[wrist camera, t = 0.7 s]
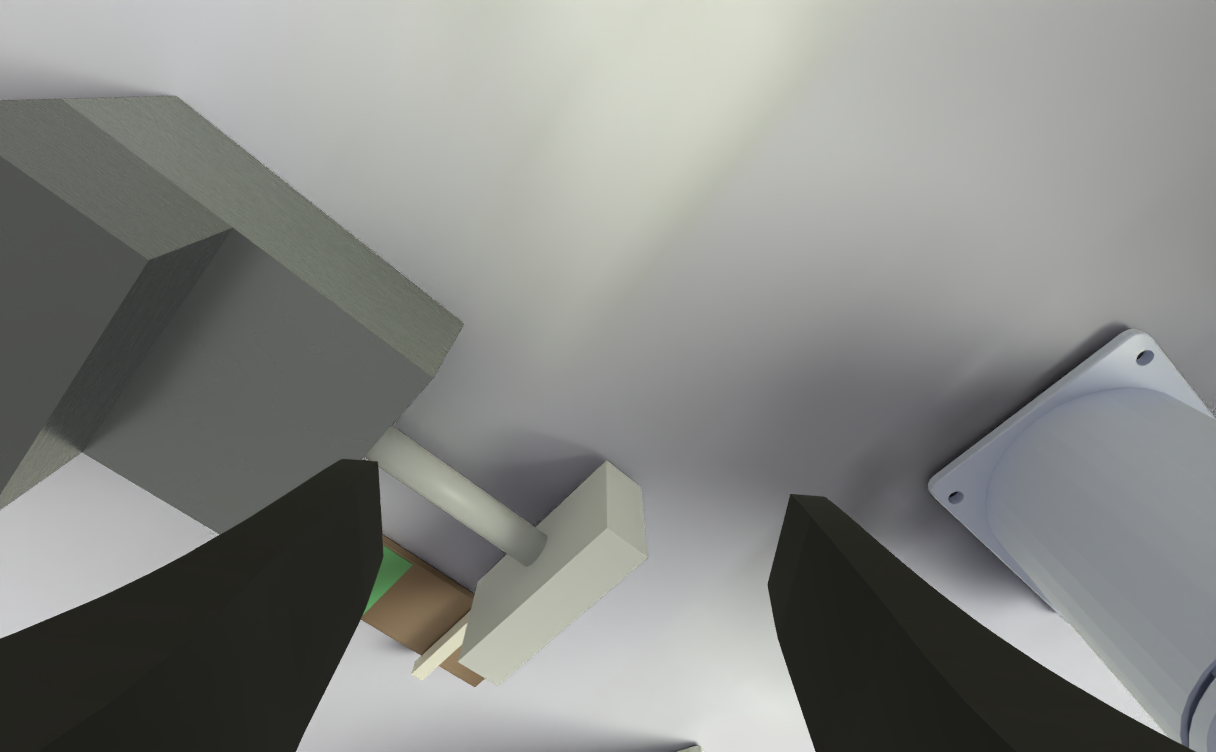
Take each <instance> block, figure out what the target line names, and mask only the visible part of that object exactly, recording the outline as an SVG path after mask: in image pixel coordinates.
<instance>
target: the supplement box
mask: <svg viewBox="0 0 1216 752" xmlns="http://www.w3.org/2000/svg"><path fill="white" fill-rule="evenodd" d="M676 752H704V750H703V748H702V747H701V746H692V747H689V748H687V749H683V750H680V751H676Z"/></svg>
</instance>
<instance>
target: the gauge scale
mask: <svg viewBox="0 0 1216 752" xmlns="http://www.w3.org/2000/svg"><path fill="white" fill-rule="evenodd" d="M382 538H383V555H384V557H383V560H382V563H381V566H380V569H379V572H378V575H377V578H376V581H375V584H374V587H373V590H372V592H371V595H370V598H369V601H368V604H367V606H366V609H365V611H364V613H363V616H362V618H361V620H363V621H364V622H366V623H368V624H369V625H371V626H373V627H374V628H376V629H378V630H380V631H381V632H383V633H385V634H386V635H388V636H390V637H391V638H393V639H395V640H396V641H398V642H400V643H401V644H403V645H405V646H406V647H408V648H410V649H411V650H413V651H415V652H416V653H418V654H420V655H421V656H422V655H423V654H424V653H425V652H426V651H427V650H428V649H429V648H430V647H432V646H433V645H434V644H435V643H436V642H437V641H438V640H439V639H440V638H441V637H442V636H443V635H444V634H446V633H447V632H448V631H449V630H450V629H451V628H452V627H453V626H454V625H455V624H456V623H457V622H458V621H460V620H461V619H462V618H463V617H464V616H465V615H466V614H467V613H468V612H469V611H470V610H471V607H472V603H473V599H474V595H475V594H473V593H472V592H470V591H469V590H467V589H466V588H464V587H462V586H461V585H459V584H458V583H456V582H455V581H453V580H452V579H450V578H449V577H447V576H445V575H444V574H442V573H441V572H439V571H438V570H436V569H435V568H433V567H432V566H430V565H428V564H427V563H425V562H424V561H422V560H421V559H419V558H418V557H416V556H415V555H413V554H411V553H410V552H408V551H407V550H405V549H404V548H402V547H401V546H399V545H398V544H396V543H394V542H393V541H391V540H390V539H388V538H387V537H385V536H384V535H382ZM461 647H462V645H461V646H460V647H459V648H457V649H456V650H455V651H454V652H453V653H452V654H451V655H450V656H449V657H448V658H446V659H445V660H444V661H443V662H442V663H441V664H440V665H439V666H440V667H442V668H443V669H445V670H447V671H448V672H450V673H452V674H453V675H455V676H457V677H458V678H460V679H462V680H463V681H465V682H467V683H469V684H470V685H472V686H474V687H476V686H477V685H478V684H479V683H480V682H481V681H483V680H484V679H485V678H484V677H482V676H480V675H479V674H477V673H475V672H474V671H472V670H470V669H469V668H467V667H465V666H464V665H462V664H460V663H459V662H458V659H459V655H460V651H461Z"/></svg>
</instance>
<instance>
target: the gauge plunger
mask: <svg viewBox="0 0 1216 752" xmlns="http://www.w3.org/2000/svg"><path fill="white" fill-rule="evenodd" d="M364 457H366V458H367V459H369V460H370V461H378V466H379V467H380V468H382V469H383V470H385V471H386V472H388V473H389V474H391V475H392V476H393V477H395V478H396V479H398V480H399V481H401V482H402V483H404V484H405V485H407V486H408V487H410V488H411V489H413V490H414V491H415V492H417V493H418V494H420V495H421V496H423V497H424V498H426V499H427V500H429V501H430V502H432V503H433V504H435V505H436V506H438V507H439V508H440V509H442V510H443V511H445V512H446V513H448V514H449V515H451V516H452V517H454V518H455V519H457V520H458V521H460V522H461V523H462V524H464V525H465V526H467V527H468V528H470V529H471V530H473V531H474V532H476V533H477V534H479V535H480V536H482V537H483V538H484V539H486V540H487V541H489V542H490V543H492V544H493V545H495V546H496V547H498V548H499V549H501V550H502V551H504V552H505V553H506V554H507V555H506V556H504V557H503V558H502V559H501V560H500V561H499V562H498V563H497V564H496V565H495V566H494V567H493V568H492V569H491V570H490V571H489V572H488V573H486V574H485V575H484V576H483V577H482V578H481V579H480V580H479V581H478V583H477V587H476V591H475V595H474V599H473V603H472V607H471V610H470V611H469V612H468V613H467V614H466V615H465V616H464V617H463V618H462V619H461V620H460V621H458V622H457V623H456V624H455V625H454V626H453V627H452V628H451V629H450V630H449V631H448V632H447V633H446V634H444V635H443V636H442V637H441V638H440V639H439V640H438V641H437V642H436V643H435V644H434V645H433V646H432V647H430V648H429V649H428V650H427V651H426V652H425V653H424V654H423V655H422V656H421V657H420V658H419V659H417V660H416V661H415V664H414V667H413V670H412V673H411V675H413V676H415V677H416V678H418V679H420V680H421V681H422V680H423V679H424V678H426V677H427V676H428V675H429V674H430V673H431V672H432V671H433V670H434V669H435V668H437V667H438V666H439V665H440V664H441V663H442V662H443V661H444V660H445V659H446V658H448V657H449V656H450V655H451V654H452V653H453V652H454V651H455V650H456V649H457V648H459V647H460V646H461V645H462V647H461V651H460V655H459V659H458V662H459V663H460V664H462V665H464V666H465V667H467V668H469V669H470V670H472V671H474V672H475V673H477V674H479V675H480V676H482V677H484V678H485V679H487V680H489V681H490V682H492V683H493V684H495V685H497V686H498V685H499V684H501V683H502V682H503V681H504V680H505V679H506V678H508V677H509V676H510V675H511V674H512V673H513V672H515V671H516V670H517V669H518V668H519V667H520V666H522V665H523V664H524V663H525V662H526V661H528V660H529V659H530V658H531V657H532V656H533V655H535V654H536V653H537V652H538V651H539V650H540V649H542V648H543V647H544V646H545V645H546V644H547V643H549V642H550V641H551V640H552V639H553V638H554V637H556V636H557V635H558V634H559V633H560V632H562V631H563V630H564V629H565V628H566V627H567V626H569V625H570V624H571V623H572V622H573V621H574V620H576V619H577V618H578V617H579V616H580V615H581V614H583V613H584V612H585V611H586V610H587V609H589V608H590V607H591V606H592V605H593V604H594V603H596V602H597V601H598V600H599V599H600V598H601V597H603V596H604V595H605V594H606V593H607V592H608V591H610V590H611V589H612V588H613V587H614V586H615V585H617V584H618V583H619V582H620V581H621V580H623V579H624V578H625V577H626V576H627V575H628V574H630V573H631V572H632V571H633V570H634V569H635V568H637V567H638V566H639V565H640V564H641V563H642V562H644V561H645V560H646V559H647V558H648V554H647V543H646V533H645V523H644V513H643V502H642V492H641V487H640V486H639V485H638V484H636V483H635V482H634V481H632V480H631V479H630V478H629V477H627V476H626V475H625V474H623V473H622V472H621V471H620V470H618V469H617V468H616V467H614V466H613V465H612V464H611V463H609V462H608V461H607V460H606V461H605V462H604V463H603V464H602V465H601V466H600V467H599V468H598V469H597V470H596V471H594V472H593V473H592V474H591V475H590V476H589V477H588V478H587V479H586V480H585V481H584V482H583V483H582V484H581V485H580V486H579V487H578V488H576V489H575V490H574V491H573V492H572V493H571V494H570V495H569V496H568V497H567V498H566V499H565V500H564V501H563V502H562V503H561V504H560V505H558V506H557V507H556V508H555V509H554V510H553V511H552V512H551V513H550V514H549V515H548V516H547V517H546V518H545V519H544V520H543V521H542V522H540V523H539V524H538V525H537V526H536V527H534V526H533V525H532V524H530V523H529V522H527V521H526V520H524V519H523V518H522V517H520V516H519V515H517V514H516V513H515V512H513V511H512V510H510V509H509V508H507V507H506V506H505V505H503V504H502V503H500V502H499V501H498V500H496V499H495V498H493V497H492V496H491V495H489V494H488V493H486V492H485V491H483V490H482V489H481V488H479V487H478V486H476V485H475V484H474V483H472V482H471V481H469V480H468V479H467V478H465V477H464V476H462V475H461V474H459V473H458V472H457V471H455V470H454V469H452V468H451V467H450V466H448V465H447V464H445V463H444V462H442V461H441V460H440V459H438V458H437V457H435V456H434V455H433V454H431V453H430V452H428V451H427V450H426V449H424V448H423V447H421V446H420V445H418V444H417V443H416V442H414V441H413V440H411V439H410V438H409V437H407V436H406V435H404V434H403V433H402V432H400V431H399V430H397V429H396V428H394V427H393V426H392V425H391V427H390V428H389V429H388V430H387V431H386V432H385V433H384V434H383V436H382V437H381V438H380V439H379V440H378V441H377V442H376V444H375V445H374V446H373V447H372V448H371V449H370V450H369V452H368V453H367V454H366V455H365V456H364Z"/></svg>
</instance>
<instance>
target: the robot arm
mask: <svg viewBox="0 0 1216 752" xmlns="http://www.w3.org/2000/svg"><path fill="white" fill-rule="evenodd" d="M1143 351H1144V353H1143V355H1142V356H1141V357H1140V358H1139V359H1137V356H1138V355H1139V354H1140V353H1141V352H1143ZM1136 359H1137V360H1136ZM928 490H929V491H930V493H931V494H932V495H933V497H934V498H935V499H936V500H937V501H938V502H939V503H941V504H942V505H943V506H944V507H945V508H946V509H947V510H948V511H949V512H950V513H951V514H952V515H953V516H954V517H955V518H957V519H958V520H959V521H960V522H961V523H962V524H963V525H964V526H965V527H966V528H967V529H968V530H969V531H970V532H971V533H972V534H974V535H975V536H976V537H977V538H978V539H979V540H980V541H981V542H982V543H983V544H984V545H985V546H986V547H987V548H988V549H990V550H991V551H992V552H993V553H994V554H995V555H996V556H997V557H998V558H999V559H1000V560H1001V561H1002V562H1003V563H1004V564H1005V565H1007V566H1008V567H1009V568H1010V569H1011V570H1012V571H1013V572H1014V573H1015V574H1016V575H1017V576H1018V577H1019V578H1020V579H1021V580H1023V581H1024V582H1025V583H1026V584H1027V585H1028V586H1029V587H1030V588H1031V589H1032V590H1033V591H1034V592H1035V593H1036V594H1037V595H1039V596H1040V597H1041V598H1042V599H1043V600H1044V601H1045V602H1046V603H1047V604H1048V605H1049V606H1050V607H1051V608H1052V609H1053V610H1054V611H1056V612H1057V613H1058V614H1059V615H1060V616H1061V617H1062V618H1063V619H1064V620H1065V621H1066V622H1067V623H1069V624H1070V625H1071V626H1072V627H1073V628H1074V629H1075V630H1076V631H1077V633H1078V634H1079V635H1080V636H1081V637H1082V638H1083V640H1084V641H1085V642H1086V643H1087V644H1088V645H1089V646H1090V648H1091V649H1092V650H1093V651H1094V652H1095V653H1096V655H1097V656H1098V657H1099V658H1100V659H1101V660H1102V661H1103V663H1104V664H1105V665H1106V666H1107V667H1108V668H1109V669H1110V671H1111V672H1112V673H1113V674H1114V675H1115V676H1116V678H1117V679H1118V680H1119V681H1120V682H1121V683H1122V684H1123V686H1124V687H1125V688H1126V689H1127V690H1128V691H1129V692H1130V694H1131V695H1132V696H1133V697H1134V698H1135V699H1136V701H1137V702H1138V703H1139V704H1140V705H1141V706H1142V707H1143V709H1144V710H1145V711H1146V712H1147V713H1148V714H1149V716H1150V717H1151V718H1152V719H1153V720H1154V721H1155V722H1156V724H1157V725H1158V726H1159V727H1160V728H1161V729H1162V730H1163V732H1164V733H1165V734H1166V735H1167V736H1168V737H1169V738H1168V737H1166V736H1164V735H1162V734H1160V733H1158V732H1157V731H1155V730H1153V729H1151V728H1149V727H1147V726H1145V725H1144V724H1142V723H1140V722H1138V721H1136V720H1134V719H1133V718H1131V717H1129V716H1127V715H1125V714H1123V713H1122V712H1120V711H1118V710H1116V709H1114V708H1113V707H1111V706H1109V705H1108V704H1106V703H1104V702H1102V701H1101V700H1099V699H1097V698H1096V697H1094V696H1092V695H1090V694H1089V693H1087V692H1085V691H1084V690H1082V689H1080V688H1078V687H1077V686H1075V685H1073V684H1072V683H1070V682H1068V681H1066V680H1065V679H1063V678H1062V677H1060V676H1058V675H1057V674H1055V673H1054V672H1052V671H1050V670H1049V669H1047V668H1046V667H1044V666H1042V665H1041V664H1039V663H1038V662H1036V661H1035V660H1033V659H1032V658H1030V657H1029V656H1027V655H1026V654H1024V653H1023V652H1021V651H1020V650H1018V649H1017V648H1015V647H1014V646H1012V645H1011V644H1009V643H1008V642H1006V641H1005V640H1003V639H1002V638H1000V637H999V636H997V635H996V634H994V633H993V632H991V631H990V630H989V629H987V628H986V627H984V626H983V625H982V624H980V623H979V622H977V621H976V620H975V619H973V618H972V617H971V616H969V615H968V614H967V613H965V612H964V611H963V610H961V609H960V608H959V607H957V606H956V605H955V604H954V603H952V602H951V601H950V600H948V599H947V598H946V597H944V596H943V595H942V594H940V593H939V592H938V591H937V590H935V589H934V588H933V587H932V586H930V585H929V584H928V583H927V582H925V581H924V580H923V579H922V578H920V577H919V576H918V575H917V574H916V573H914V572H913V571H912V570H911V569H910V568H908V567H907V566H906V565H905V564H904V563H902V562H901V561H900V560H899V559H898V558H897V557H895V556H894V555H893V554H892V553H891V552H889V551H888V550H887V549H886V548H885V547H884V546H883V545H881V544H880V543H879V542H878V541H877V540H876V539H874V538H873V537H872V536H871V535H870V534H869V533H868V532H866V531H865V530H864V529H863V528H862V527H861V526H860V525H858V524H857V523H856V522H855V521H854V520H853V519H851V518H850V517H849V516H848V515H847V514H846V513H844V512H843V511H842V510H841V509H840V508H838V507H837V506H836V505H835V504H833V503H832V502H831V501H830V500H828V499H827V498H826V497H821V496H808V495H796V494H790V498H789V502H788V506H787V510H786V514H785V518H784V522H783V526H782V530H781V534H780V538H779V542H778V546H777V550H776V553H775V557H774V561H773V565H772V569H771V573H770V577H769V581H768V590H769V595H770V601H771V606H772V612H773V617H774V622H775V627H776V631H777V636H778V640H779V643H780V646H781V650H782V653H783V656H784V659H785V662H786V665H787V668H788V671H789V674H790V677H791V680H792V683H793V686H794V689H795V692H796V695H797V698H798V701H799V704H800V707H801V710H802V713H803V716H804V719H805V722H806V725H807V728H808V731H809V734H810V737H811V739H812V742H813V745H814V748H815V751H816V752H1216V418H1215V416H1214V415H1213V414H1212V413H1211V411H1210V410H1209V409H1208V408H1207V406H1206V405H1205V404H1204V403H1203V401H1202V400H1201V399H1200V398H1199V396H1198V395H1197V394H1196V392H1195V391H1194V390H1193V389H1192V387H1191V386H1190V385H1189V384H1188V382H1187V381H1186V380H1185V379H1184V377H1183V376H1182V375H1181V374H1180V372H1179V371H1178V370H1177V369H1176V367H1175V366H1174V365H1173V363H1172V362H1171V361H1170V360H1169V358H1168V357H1167V356H1166V355H1165V353H1164V352H1163V351H1162V350H1161V348H1160V347H1159V346H1158V345H1157V343H1156V342H1155V341H1154V339H1153V338H1152V337H1151V336H1150V335H1149V334H1147V333H1146V332H1143V331H1141V330H1139V329H1129V330H1126V331H1124V332H1122V333H1120V334H1119V335H1118V336H1116V337H1115V338H1114V339H1112V340H1111V341H1110V342H1109V343H1107V344H1106V345H1105V346H1103V347H1102V348H1101V349H1099V350H1098V351H1097V352H1095V353H1094V354H1093V355H1091V356H1090V357H1089V358H1088V359H1086V360H1085V361H1084V362H1082V363H1081V364H1080V365H1078V366H1077V367H1076V368H1074V369H1073V370H1072V371H1070V372H1069V373H1068V374H1067V375H1065V376H1064V377H1063V378H1061V379H1060V380H1059V381H1057V382H1056V383H1055V384H1053V385H1052V386H1051V387H1049V388H1048V389H1047V390H1046V391H1044V392H1043V393H1042V394H1040V395H1039V396H1038V397H1036V398H1035V399H1034V400H1032V401H1031V402H1030V403H1028V404H1027V405H1026V406H1025V407H1023V408H1022V409H1021V410H1019V411H1018V412H1017V413H1015V414H1014V415H1013V416H1011V417H1010V418H1009V419H1007V420H1006V421H1005V422H1004V423H1002V424H1001V425H1000V426H998V427H997V428H996V429H994V430H993V431H992V432H990V433H989V434H988V435H986V436H985V437H984V438H983V439H981V440H980V441H979V442H977V443H976V444H975V445H973V446H972V447H971V448H969V449H968V450H967V451H965V452H964V453H963V454H962V455H960V456H959V457H958V458H956V459H955V460H954V461H952V462H951V463H950V464H948V465H947V466H946V467H944V468H943V469H942V470H941V471H939V472H938V473H937V474H935V475H934V476H933V477H932V478H931V479H930V481H929V483H928ZM957 491H958V492H957ZM953 492H957V494H956V495H955V496H953V497H949V496H950V494H951V493H953ZM383 557H384V555H383V538H382V521H381V505H380V488H379V471H378V461H366V460H353V459H341V460H339V461H337V462H335V463H334V464H332V465H330V466H329V467H327V468H325V469H324V470H322V471H321V472H319V473H318V474H316V475H315V476H313V477H311V478H310V479H308V480H307V481H305V482H304V483H302V484H301V485H299V486H298V487H296V488H295V489H293V490H292V491H290V492H288V493H287V494H285V495H284V496H282V497H281V498H279V499H278V500H276V501H274V502H273V503H271V504H270V505H268V506H267V507H265V508H263V509H262V510H260V511H259V512H257V513H256V514H254V515H252V516H251V517H249V518H248V519H246V520H244V521H243V522H241V523H239V524H238V525H236V526H234V527H232V528H231V529H229V530H227V531H225V532H224V533H222V534H220V535H219V536H217V537H215V538H213V539H212V540H210V541H208V542H207V543H205V544H203V545H201V546H200V547H198V548H196V549H194V550H193V551H191V552H189V553H188V554H186V555H184V556H182V557H180V558H178V559H177V560H175V561H173V562H171V563H169V564H167V565H165V566H163V567H161V568H159V569H157V570H155V571H154V572H152V573H150V574H148V575H146V576H143V577H141V578H139V579H137V580H135V581H133V582H131V583H129V584H127V585H125V586H123V587H121V588H119V589H117V590H115V591H112V592H110V593H108V594H106V595H104V596H102V597H99V598H97V599H95V600H93V601H90V602H88V603H86V604H83V605H81V606H78V607H76V608H74V609H71V610H69V611H66V612H64V613H62V614H59V615H57V616H55V617H52V618H50V619H47V620H45V621H43V622H40V623H38V624H35V625H33V626H31V627H28V628H26V629H23V630H21V631H19V632H16V633H14V634H11V635H9V636H6V637H3V638H1V639H0V752H296V750H297V748H298V745H299V743H300V741H301V739H302V737H303V734H304V732H305V730H306V728H307V726H308V724H309V722H310V720H311V718H312V716H313V714H314V712H315V710H316V708H317V706H318V704H319V702H320V700H321V698H322V696H323V694H324V692H325V690H326V688H327V686H328V684H329V682H330V680H331V678H332V676H333V674H334V672H335V670H336V668H337V666H338V664H339V662H340V660H341V658H342V656H343V654H344V652H345V650H346V648H347V646H348V644H349V642H350V640H351V638H352V636H353V634H354V632H355V630H356V628H357V626H358V624H359V622H360V620H361V618H362V616H363V613H364V611H365V609H366V606H367V604H368V601H369V598H370V595H371V592H372V590H373V587H374V584H375V581H376V578H377V575H378V572H379V569H380V566H381V563H382V560H383Z"/></svg>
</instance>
